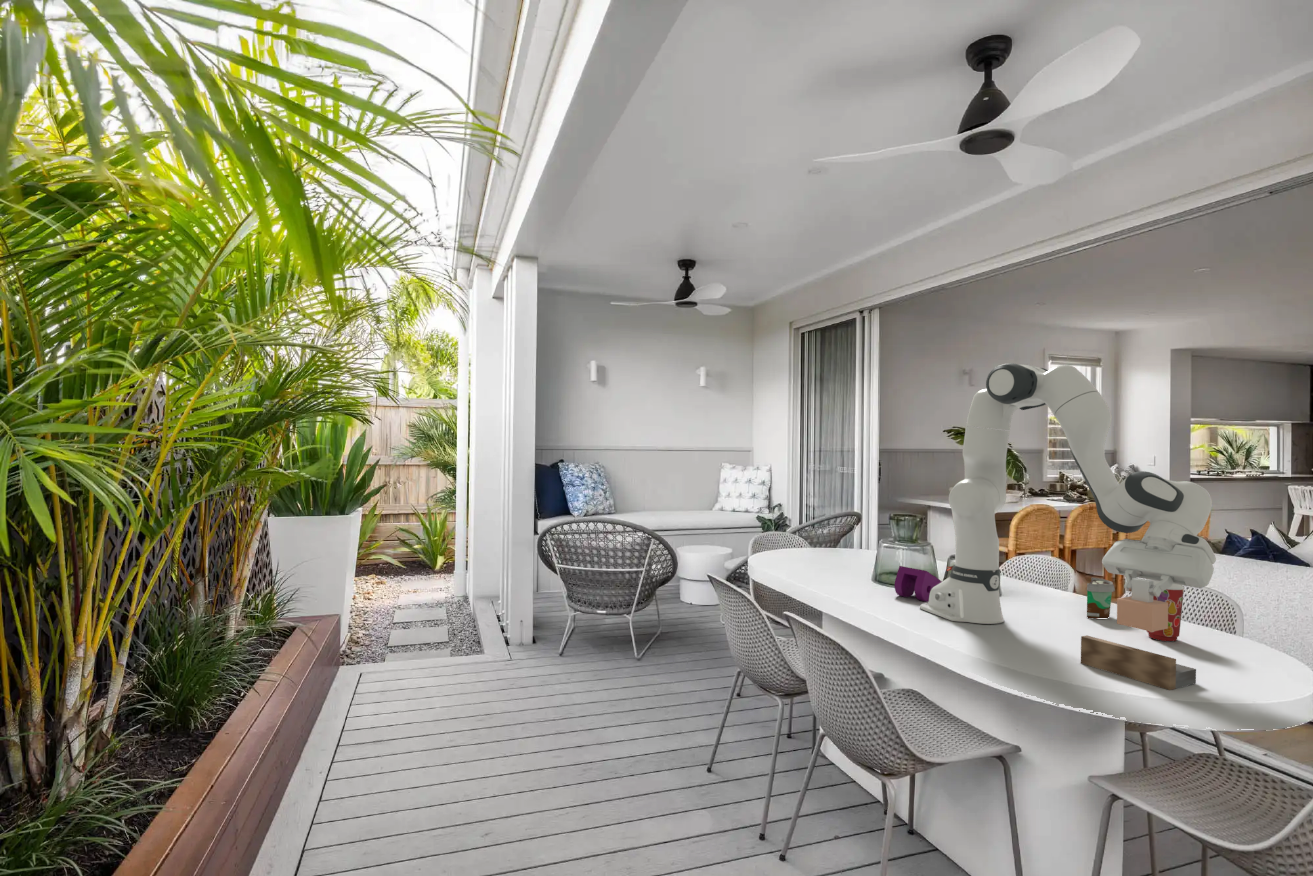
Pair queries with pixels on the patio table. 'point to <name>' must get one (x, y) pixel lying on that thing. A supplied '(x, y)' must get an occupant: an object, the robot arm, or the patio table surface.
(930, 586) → the mounting bracket
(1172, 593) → the smoothie
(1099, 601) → the food container
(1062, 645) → the patio table surface
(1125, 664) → the wall board
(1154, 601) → the peach box
